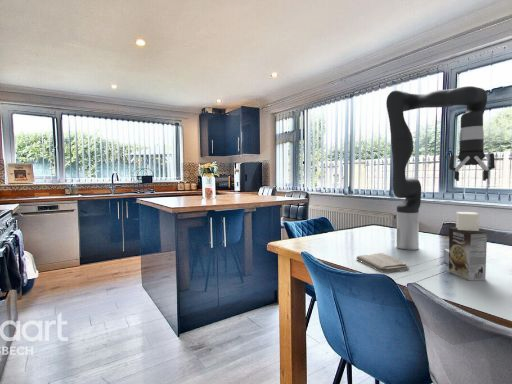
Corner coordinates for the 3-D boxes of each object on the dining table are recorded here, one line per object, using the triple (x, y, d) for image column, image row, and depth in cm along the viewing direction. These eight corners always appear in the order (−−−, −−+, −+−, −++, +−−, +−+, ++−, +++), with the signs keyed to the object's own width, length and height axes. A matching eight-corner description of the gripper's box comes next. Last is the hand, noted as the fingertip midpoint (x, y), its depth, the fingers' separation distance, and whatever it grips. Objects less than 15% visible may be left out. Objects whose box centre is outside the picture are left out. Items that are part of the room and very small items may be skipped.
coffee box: (447, 271, 102) (448, 227, 101) (464, 270, 102) (464, 226, 102) (468, 280, 93) (469, 232, 92) (487, 279, 93) (487, 231, 93)
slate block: (449, 265, 109) (449, 252, 109) (443, 261, 114) (443, 249, 114) (464, 265, 108) (464, 252, 108) (458, 261, 113) (458, 249, 113)
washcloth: (383, 274, 102) (383, 266, 102) (355, 260, 120) (355, 253, 120) (411, 271, 105) (411, 263, 105) (379, 258, 122) (379, 251, 122)
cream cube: (458, 229, 96) (458, 213, 96) (456, 227, 101) (456, 211, 100) (478, 231, 93) (479, 214, 93) (475, 228, 98) (475, 212, 98)
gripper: (450, 139, 111) (450, 181, 112) (497, 136, 104) (496, 180, 105) (448, 141, 118) (447, 180, 119) (492, 138, 111) (491, 180, 112)
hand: (470, 180), depth 112 cm, fingers open, 8 cm apart
